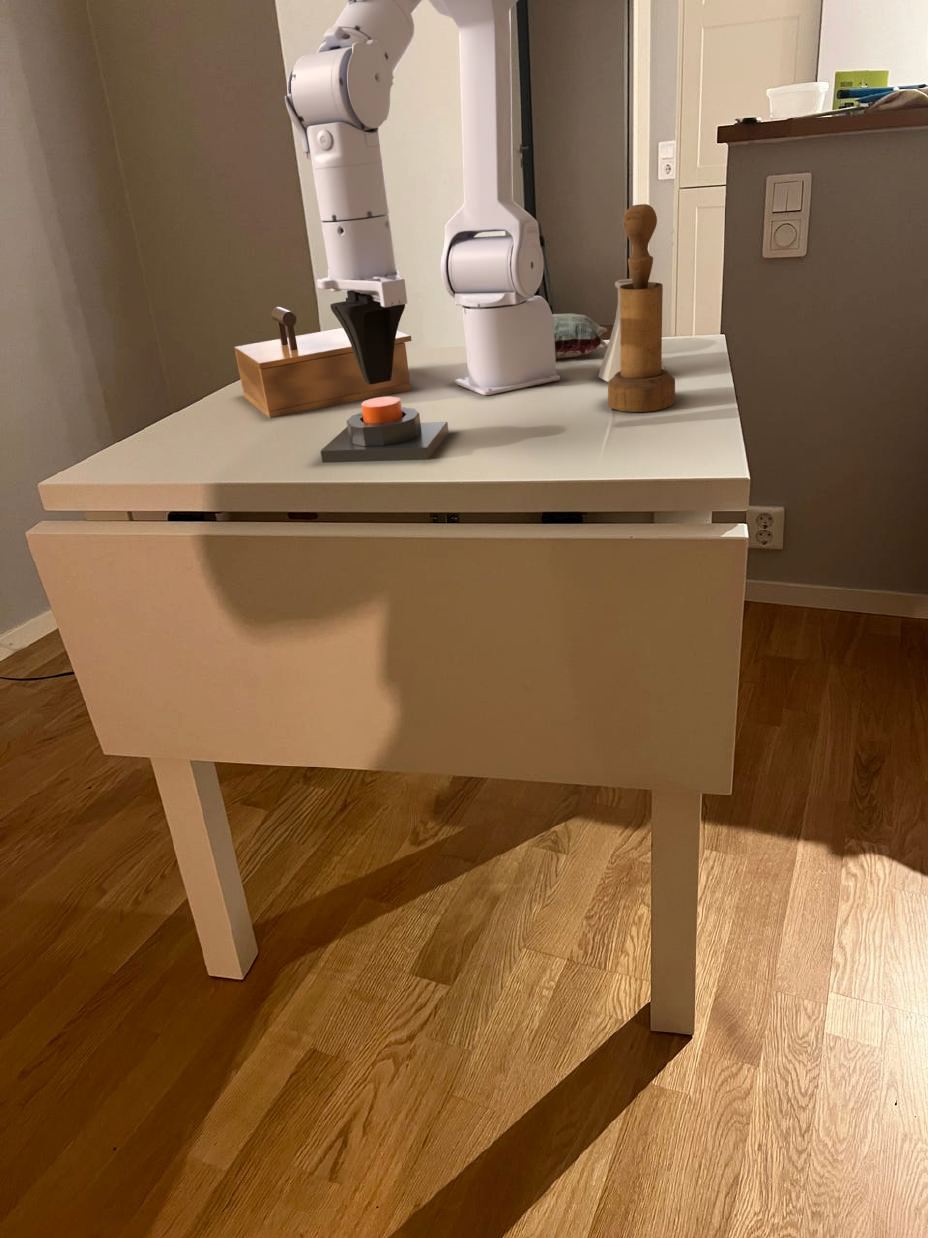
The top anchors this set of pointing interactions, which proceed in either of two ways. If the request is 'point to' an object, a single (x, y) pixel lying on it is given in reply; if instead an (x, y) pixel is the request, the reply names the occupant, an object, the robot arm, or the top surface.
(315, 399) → the wooden box
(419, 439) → the switch block
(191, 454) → the top surface
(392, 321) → the robot arm
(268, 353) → the lid
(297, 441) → the top surface
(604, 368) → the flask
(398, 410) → the button
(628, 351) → the mortar and pestle
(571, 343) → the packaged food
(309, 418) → the top surface
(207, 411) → the top surface
